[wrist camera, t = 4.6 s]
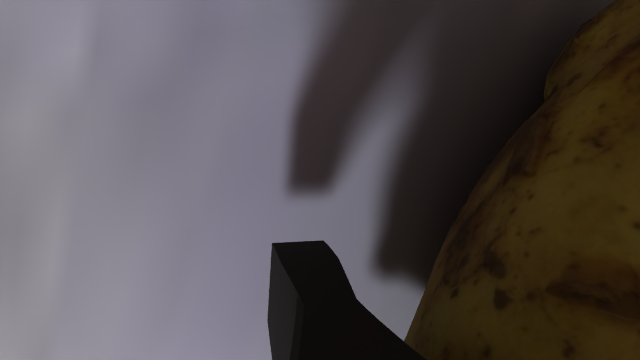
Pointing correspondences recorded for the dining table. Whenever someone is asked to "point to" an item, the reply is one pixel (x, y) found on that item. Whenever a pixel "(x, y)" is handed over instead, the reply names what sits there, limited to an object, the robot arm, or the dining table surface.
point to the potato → (552, 221)
